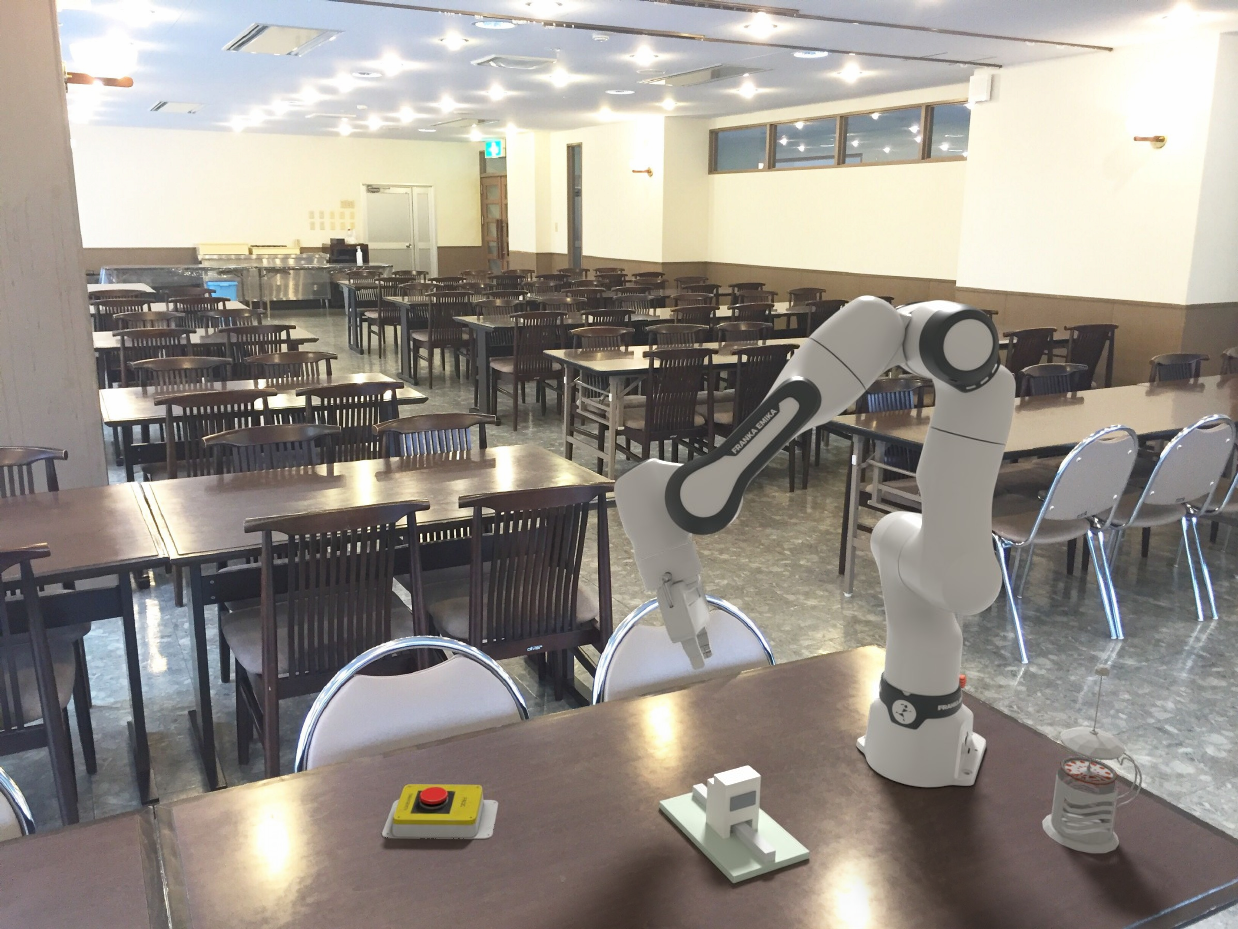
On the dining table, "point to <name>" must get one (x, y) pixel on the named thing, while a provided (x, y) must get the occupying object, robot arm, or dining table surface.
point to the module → (733, 799)
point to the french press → (1088, 789)
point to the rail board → (734, 838)
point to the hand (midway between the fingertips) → (704, 662)
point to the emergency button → (441, 813)
